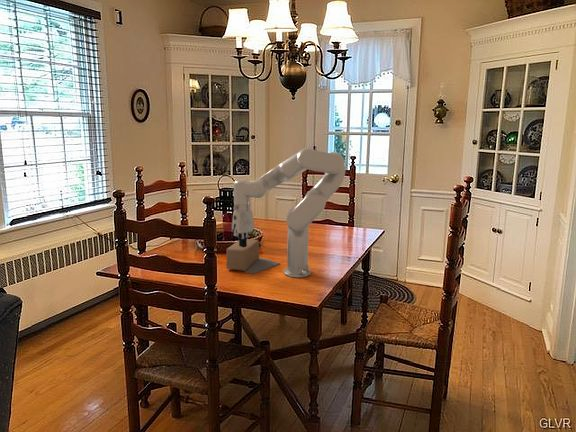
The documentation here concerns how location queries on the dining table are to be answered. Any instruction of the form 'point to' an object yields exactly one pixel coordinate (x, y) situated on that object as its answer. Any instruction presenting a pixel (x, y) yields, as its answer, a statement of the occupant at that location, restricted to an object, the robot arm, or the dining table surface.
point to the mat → (260, 266)
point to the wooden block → (242, 255)
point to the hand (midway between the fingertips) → (242, 246)
